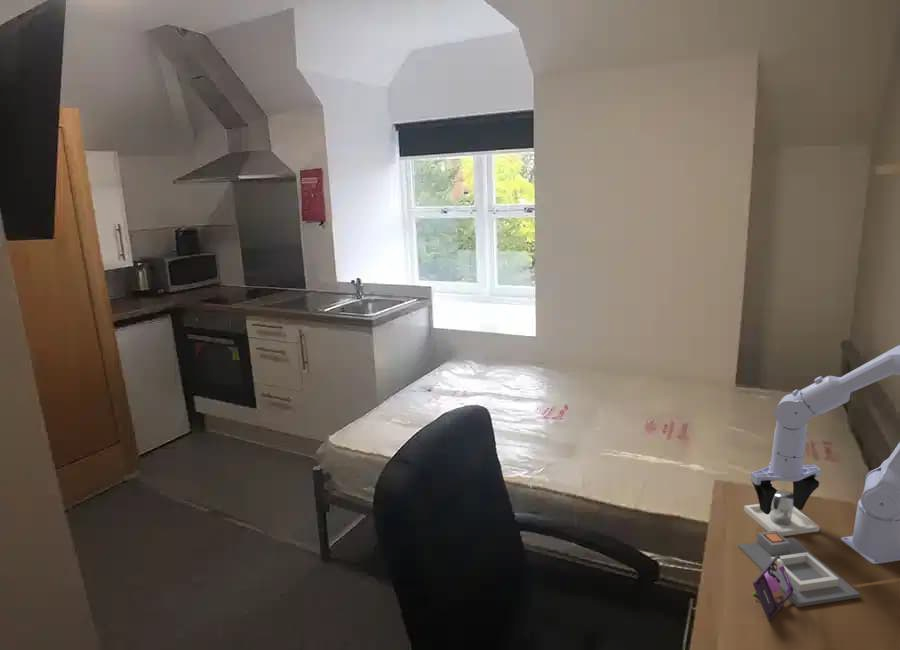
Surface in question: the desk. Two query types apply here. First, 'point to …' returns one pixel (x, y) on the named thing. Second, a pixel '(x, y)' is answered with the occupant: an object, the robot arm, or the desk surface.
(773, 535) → the button
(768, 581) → the eggplant monster toy
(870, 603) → the desk surface
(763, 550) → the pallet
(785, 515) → the cylinder
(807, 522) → the tray
